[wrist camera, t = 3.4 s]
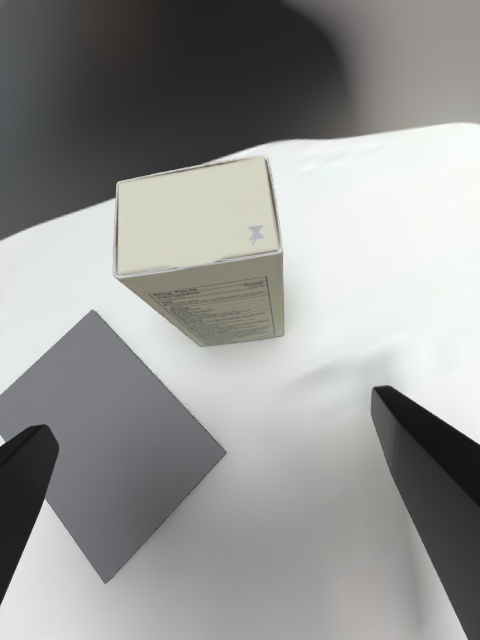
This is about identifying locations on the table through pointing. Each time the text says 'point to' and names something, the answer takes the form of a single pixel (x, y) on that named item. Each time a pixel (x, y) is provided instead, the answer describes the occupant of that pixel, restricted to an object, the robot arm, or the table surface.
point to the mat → (109, 441)
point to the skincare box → (204, 249)
